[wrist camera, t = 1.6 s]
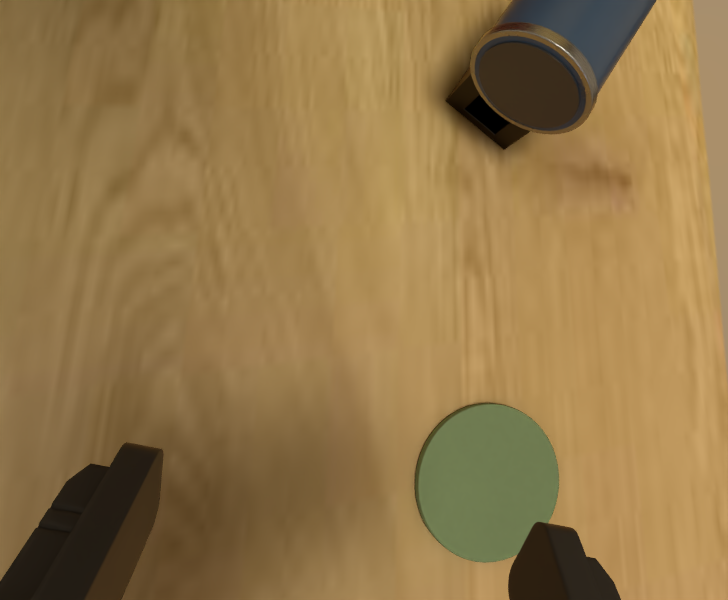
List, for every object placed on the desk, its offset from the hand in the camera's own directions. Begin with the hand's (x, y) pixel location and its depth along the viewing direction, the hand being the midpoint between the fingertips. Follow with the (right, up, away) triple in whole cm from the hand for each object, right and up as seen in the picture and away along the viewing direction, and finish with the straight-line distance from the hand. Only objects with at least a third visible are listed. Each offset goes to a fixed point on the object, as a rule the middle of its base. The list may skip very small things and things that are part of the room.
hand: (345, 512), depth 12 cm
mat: (+8, -6, +21) cm, 24 cm away
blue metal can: (+10, +18, +20) cm, 29 cm away
